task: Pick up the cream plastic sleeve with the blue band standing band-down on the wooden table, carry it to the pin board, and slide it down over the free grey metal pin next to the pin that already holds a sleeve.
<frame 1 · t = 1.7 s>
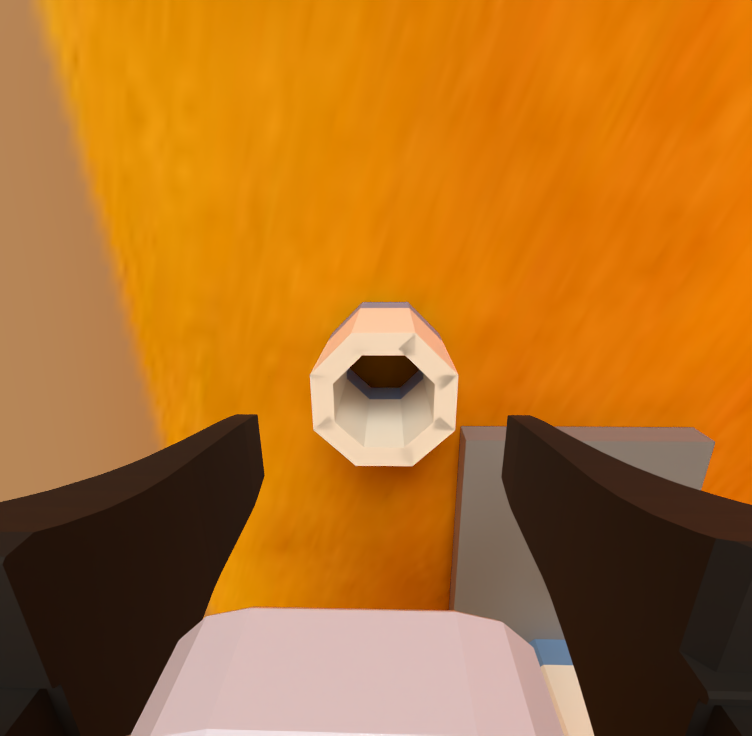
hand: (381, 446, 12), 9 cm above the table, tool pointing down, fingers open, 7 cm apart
sleeve: (385, 354, 20), on the table
pin board: (550, 574, 24), on the table
seated sleeve: (547, 669, 25), point 1 cm above the table, touching pin board
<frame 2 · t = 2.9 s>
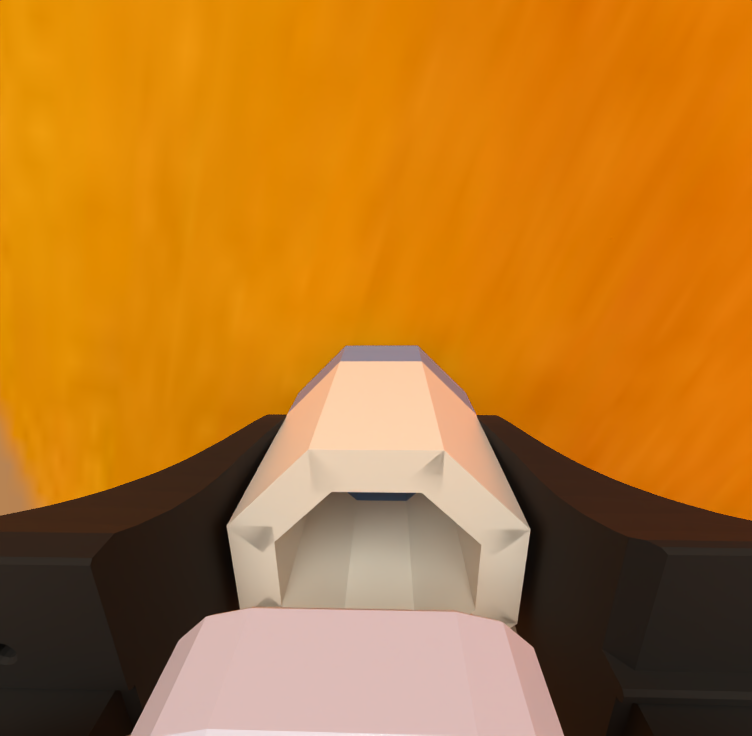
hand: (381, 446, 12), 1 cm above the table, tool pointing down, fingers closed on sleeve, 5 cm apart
sleeve: (382, 423, 13), on the table, touching gripper
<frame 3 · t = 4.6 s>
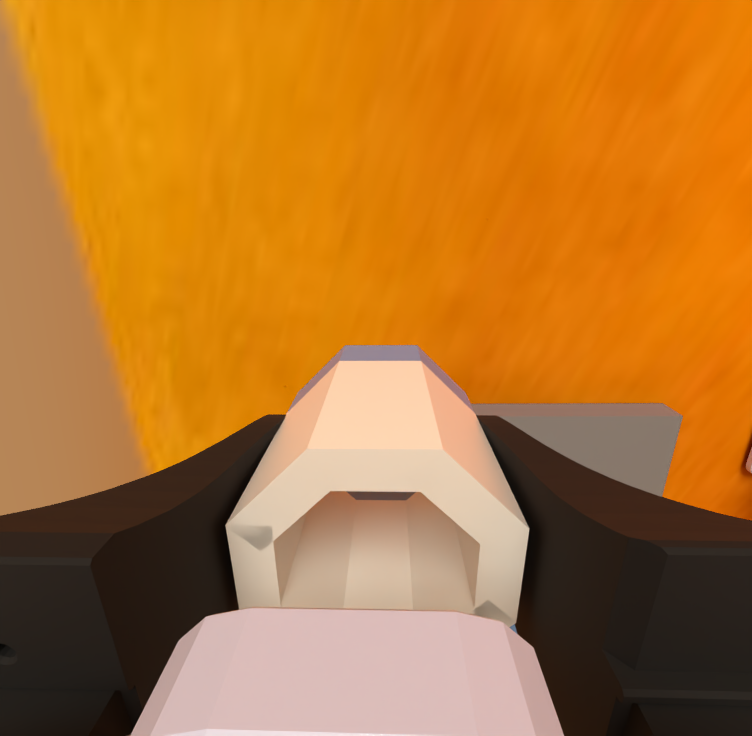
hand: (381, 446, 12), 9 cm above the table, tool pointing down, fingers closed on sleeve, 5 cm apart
sleeve: (381, 423, 13), point 8 cm above the table, touching gripper
pin board: (525, 554, 24), on the table
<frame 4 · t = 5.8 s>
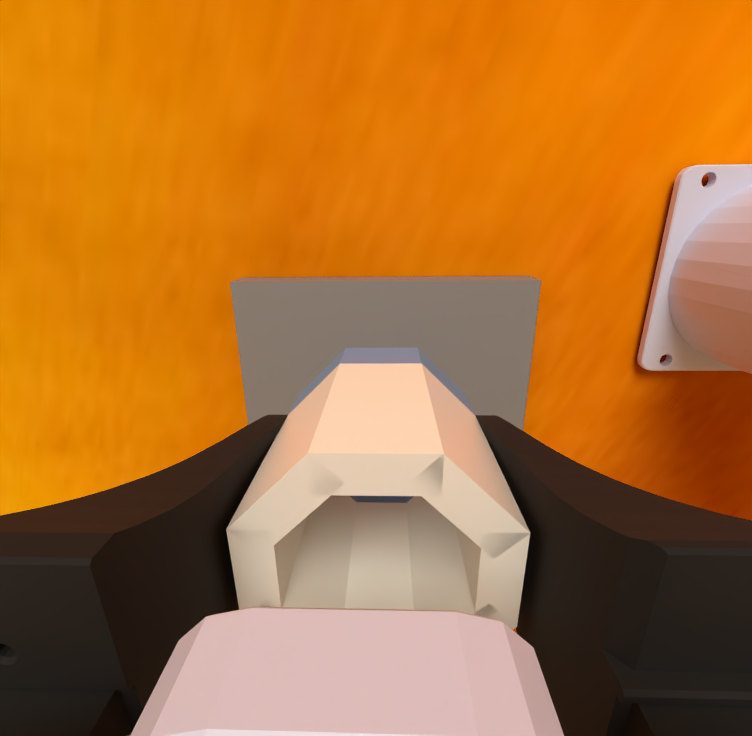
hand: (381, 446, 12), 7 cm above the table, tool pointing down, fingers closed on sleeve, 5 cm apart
sleeve: (381, 425, 13), point 6 cm above the table, touching gripper
pin board: (384, 479, 20), on the table
when the fingers open (5 cm above the table, at t = 6.7 s): sleeve drops 2 cm, resting on pin board.
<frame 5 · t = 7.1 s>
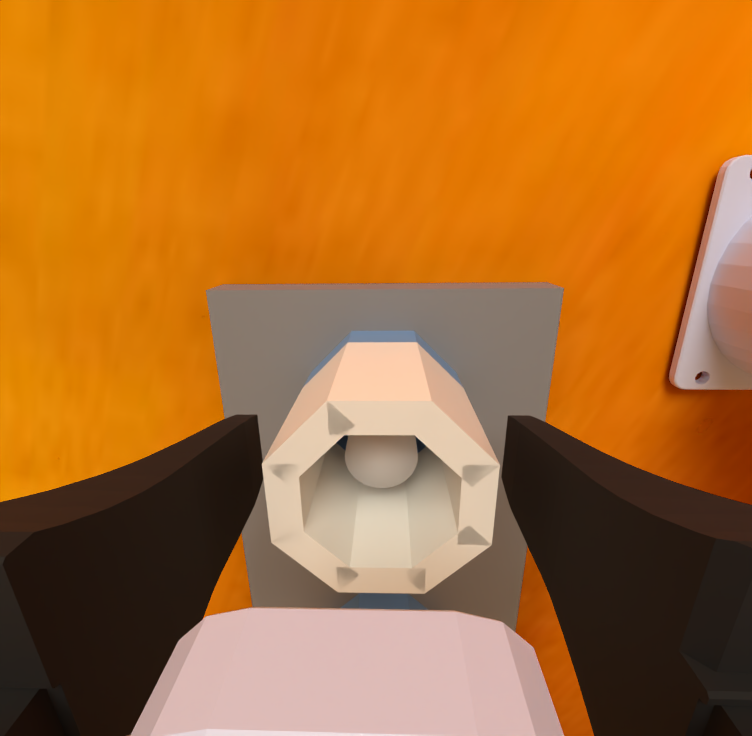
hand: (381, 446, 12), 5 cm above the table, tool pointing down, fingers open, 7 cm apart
sleeve: (383, 399, 15), point 1 cm above the table, touching pin board
pin board: (384, 507, 18), on the table
seated sleeve: (384, 635, 19), point 1 cm above the table, touching pin board
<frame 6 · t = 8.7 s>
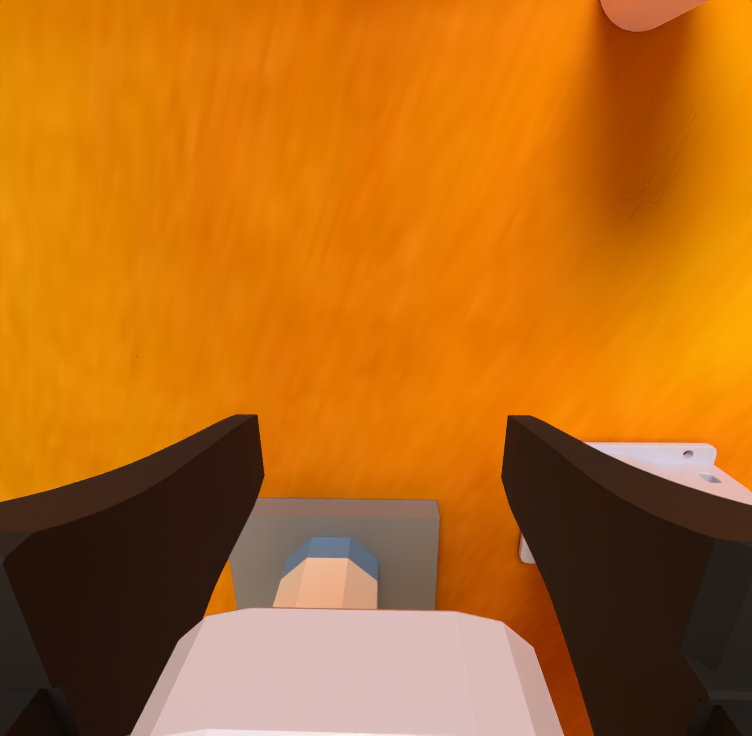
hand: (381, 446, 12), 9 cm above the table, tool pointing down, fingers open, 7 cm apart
sleeve: (333, 573, 23), point 1 cm above the table, touching pin board
pin board: (340, 624, 27), on the table
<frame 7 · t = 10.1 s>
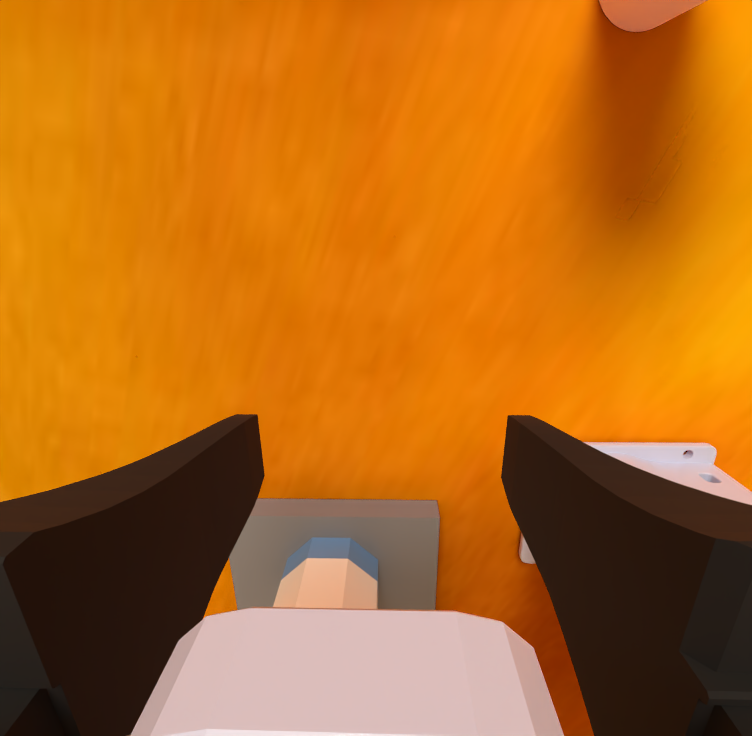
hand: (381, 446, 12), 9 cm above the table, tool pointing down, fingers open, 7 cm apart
sleeve: (333, 573, 23), point 1 cm above the table, touching pin board
pin board: (340, 625, 27), on the table
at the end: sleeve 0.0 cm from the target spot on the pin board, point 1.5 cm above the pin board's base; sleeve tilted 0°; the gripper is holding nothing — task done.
